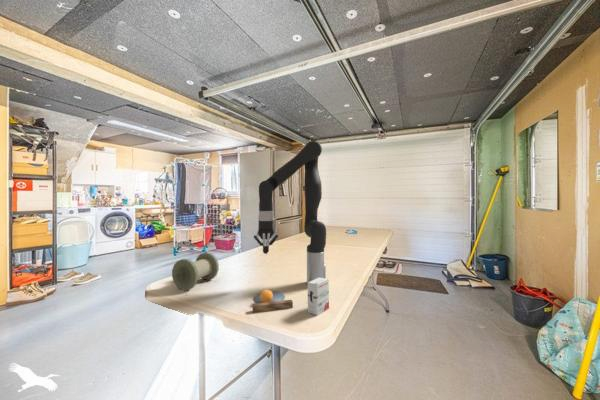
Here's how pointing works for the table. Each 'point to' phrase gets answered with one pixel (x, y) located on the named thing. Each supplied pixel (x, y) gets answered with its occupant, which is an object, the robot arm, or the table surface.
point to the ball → (266, 296)
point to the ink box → (318, 295)
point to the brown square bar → (272, 306)
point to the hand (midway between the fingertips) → (265, 253)
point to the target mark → (276, 297)
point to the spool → (194, 270)
